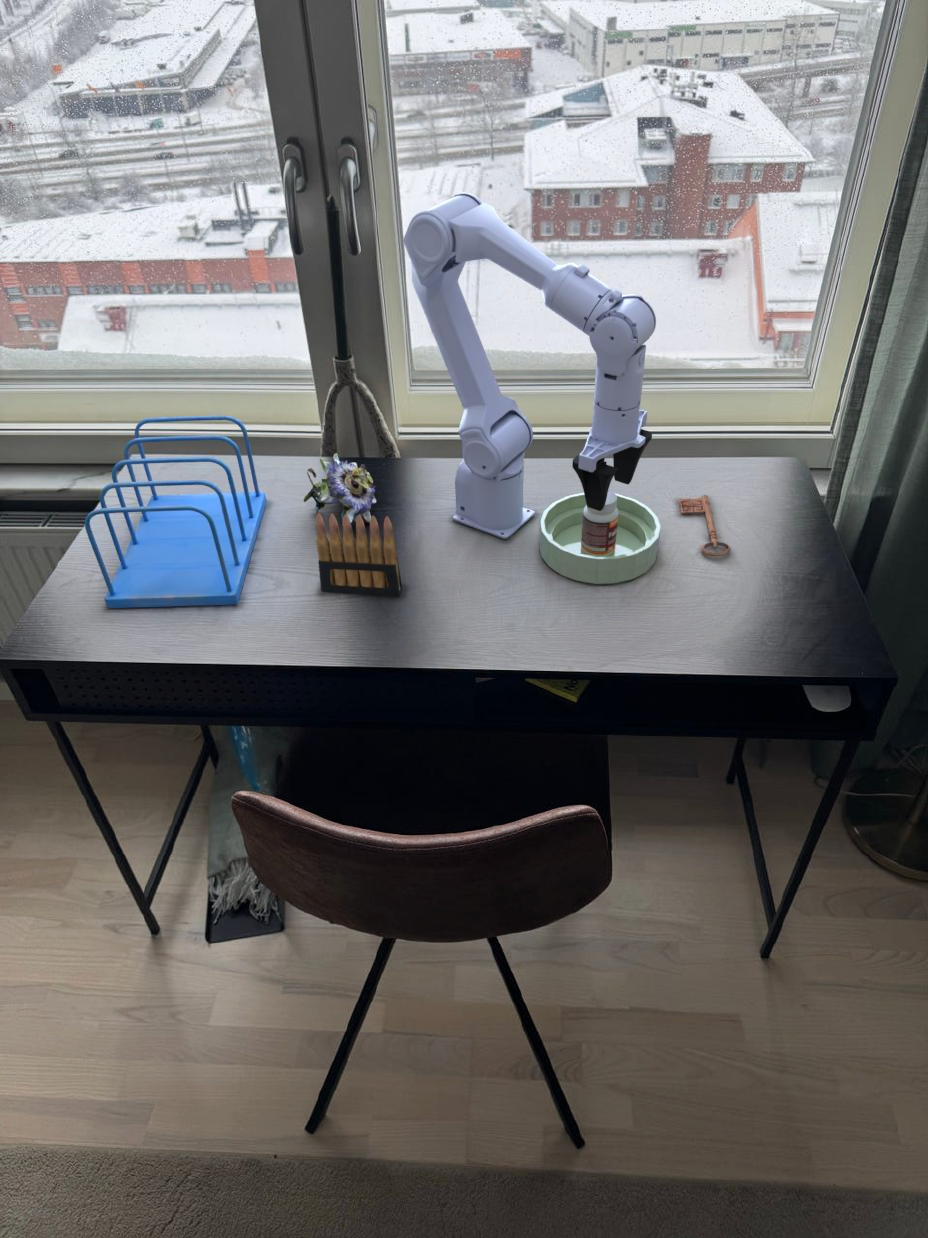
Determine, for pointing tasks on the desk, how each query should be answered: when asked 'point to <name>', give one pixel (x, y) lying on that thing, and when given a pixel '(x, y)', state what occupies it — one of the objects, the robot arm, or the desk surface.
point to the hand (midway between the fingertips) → (609, 494)
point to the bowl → (625, 563)
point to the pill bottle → (600, 528)
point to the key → (712, 532)
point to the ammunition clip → (357, 558)
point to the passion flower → (344, 489)
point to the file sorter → (182, 533)
